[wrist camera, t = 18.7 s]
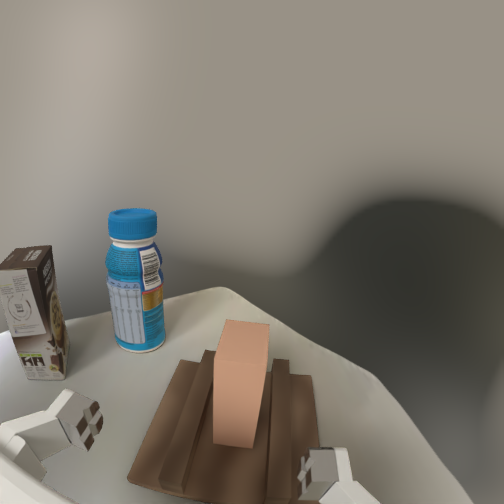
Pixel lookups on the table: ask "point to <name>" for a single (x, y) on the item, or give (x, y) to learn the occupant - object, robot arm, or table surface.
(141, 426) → the table surface
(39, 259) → the coffee box
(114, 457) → the table surface
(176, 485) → the walnut rack
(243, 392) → the tall peach pillar
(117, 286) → the beverage bottle
